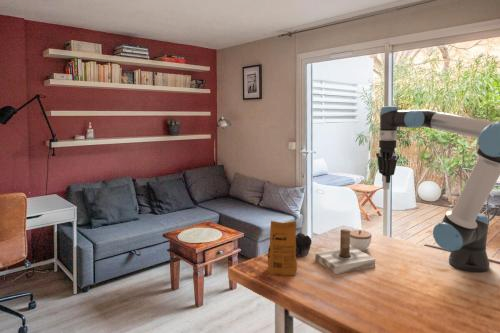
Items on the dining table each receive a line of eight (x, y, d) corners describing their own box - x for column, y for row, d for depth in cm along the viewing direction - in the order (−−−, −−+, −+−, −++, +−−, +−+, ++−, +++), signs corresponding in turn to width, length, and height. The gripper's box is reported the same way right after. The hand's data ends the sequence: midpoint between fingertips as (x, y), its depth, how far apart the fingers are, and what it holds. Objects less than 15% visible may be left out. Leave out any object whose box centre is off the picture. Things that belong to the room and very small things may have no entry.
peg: (351, 264, 163) (352, 231, 161) (343, 265, 162) (344, 232, 160) (345, 260, 167) (346, 228, 165) (337, 262, 166) (338, 229, 163)
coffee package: (268, 265, 163) (268, 217, 160) (297, 267, 161) (297, 218, 158) (266, 275, 153) (265, 224, 150) (296, 277, 151) (297, 225, 148)
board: (375, 266, 161) (375, 258, 160) (335, 274, 154) (335, 266, 153) (352, 253, 175) (352, 246, 175) (315, 260, 168) (315, 252, 168)
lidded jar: (374, 252, 176) (374, 233, 175) (351, 252, 176) (351, 233, 175) (367, 244, 187) (367, 226, 185) (345, 244, 187) (346, 226, 186)
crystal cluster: (276, 254, 177) (276, 235, 175) (291, 244, 188) (291, 225, 185) (301, 263, 170) (301, 243, 167) (315, 251, 180) (316, 232, 177)
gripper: (372, 138, 179) (370, 187, 182) (391, 140, 166) (389, 192, 170) (384, 138, 181) (382, 185, 185) (404, 140, 169) (402, 191, 173)
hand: (385, 189), depth 177 cm, fingers closed
